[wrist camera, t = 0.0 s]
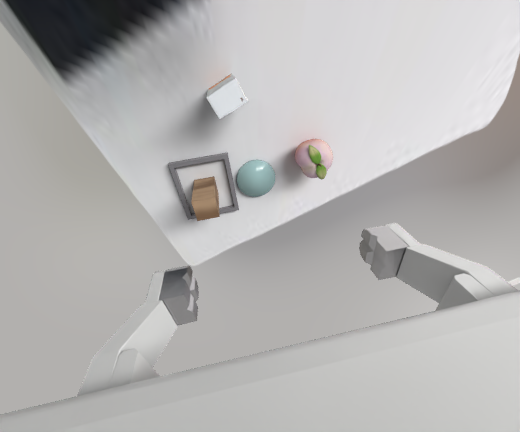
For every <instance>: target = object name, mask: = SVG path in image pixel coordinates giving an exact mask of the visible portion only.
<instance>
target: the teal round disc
mask: <svg viewBox="0 0 520 432" xmlns="http://www.w3.org/2000/svg"><path fill="white" fill-rule="evenodd" d="M237 183H238V186H239V188H240V190H241V191H242V192H243V193H244V194H246V195H248V196H253V197H257V196H262V195H264V194H266V193H267V192H269V191H270V190H271V188H272V187H273V185H274V183H275V173H274V170H273V168H272V167H271V166H270V165H269V164H268V163H267V162H265V161H262V160H252V161H249V162H247V163H245V164H244V165H243V166H242V167H241V168H240V169H239V171H238V174H237Z"/></svg>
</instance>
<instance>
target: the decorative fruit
mask: <svg viewBox="0 0 520 432" xmlns="http://www.w3.org/2000/svg"><path fill="white" fill-rule="evenodd" d="M295 160H296V163H297V164H298V165H299V166H300V167H301V169H302V171H303V173H304V174H305V175H306V176H308V177H310V178H317V177H319V178H320V179H324V177H325V176H326V172H327V170H328V169H329V168H330V166H331V164H332V161H333V154H332V150H331V149H330V147H329V145H328V144H327V143H326V142H324V141H322V140H319V139H311V140H307V141H305V142H303V143H301V144H300V145H299V146H298V148H297V149H296V152H295Z"/></svg>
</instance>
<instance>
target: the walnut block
mask: <svg viewBox="0 0 520 432" xmlns="http://www.w3.org/2000/svg"><path fill="white" fill-rule="evenodd" d="M191 203H192V206H193V209H194V212H195V215H196V218H197V221H200V220H205V219H210V218H215V217H220V216H219V196H218V190H217V186H216V182H215V178H214V177H209V178H203V179H198V180H194V186H193V194H192V201H191Z"/></svg>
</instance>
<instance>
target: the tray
mask: <svg viewBox="0 0 520 432" xmlns="http://www.w3.org/2000/svg"><path fill="white" fill-rule="evenodd" d="M222 159H224V160H225V165H226V169H227V174H228V179H229V183H230V188H231V193H232V197H233V202H234V205H233V206H228V207H223V208H219V214H220V213H225V212H231V211H236V210H239V208H238V203H237V198H236V193H235V188H234V183H233V178H232V173H231V168H230V163H229V158H228V153H222V154H217V155H211V156H205V157H199V158H194V159H188V160H182V161H176V162H171V163H169V164H168V166H169V168H170V171H171V174H172V176H173V179H174V182H175V185H176V187H177V190H178V193H179V196H180V198H181V201H182V204H183V207H184V209H185V212H186V215H187V218H188V220H189V219H194V218H196V215H195V213H191V212H190V209H189V206H188V203H187V200H186V197H185V194H184V192H183V189H182V186H181V183H180V180H179V177H178V174H177V172H176V169H175V168H176V167H182V166H188V165H193V164H199V163H205V162H210V161H216V160H222Z"/></svg>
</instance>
